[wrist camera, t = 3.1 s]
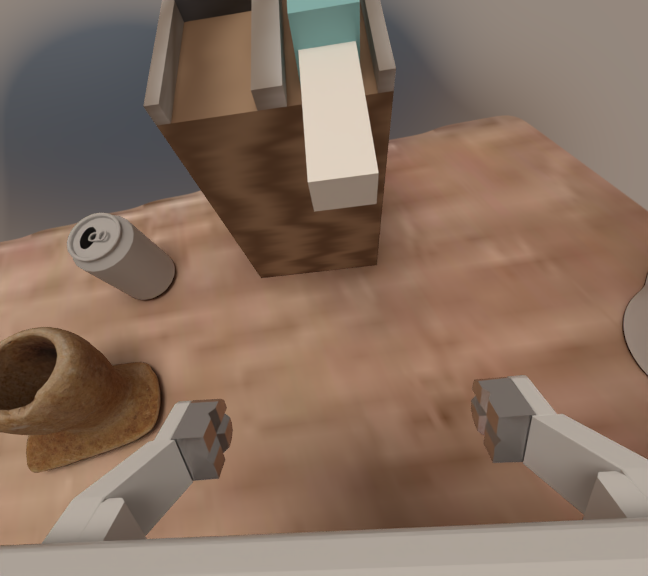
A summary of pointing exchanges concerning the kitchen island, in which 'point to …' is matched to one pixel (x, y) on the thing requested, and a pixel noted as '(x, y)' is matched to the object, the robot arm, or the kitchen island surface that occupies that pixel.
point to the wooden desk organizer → (263, 128)
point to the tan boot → (71, 397)
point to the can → (120, 255)
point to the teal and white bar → (333, 103)
